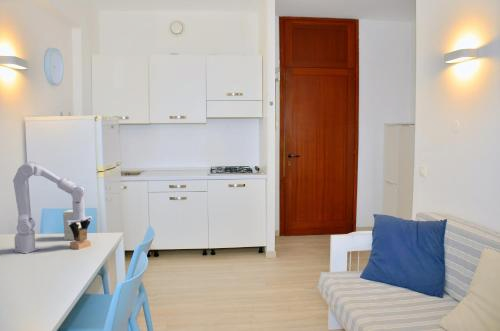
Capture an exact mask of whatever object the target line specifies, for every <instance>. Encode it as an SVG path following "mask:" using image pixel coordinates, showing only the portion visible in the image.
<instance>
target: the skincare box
mask: <svg viewBox="0 0 500 331" xmlns="http://www.w3.org/2000/svg"><path fill="white" fill-rule="evenodd" d="M62 217H63V234H64V239H63V240H64V241H75V240H74V235H73V232H72V230H71V228H70V227H69V225H66V221H68V220H71V219H73V209H68V210H67V209H66V210H65V211H63V212H62ZM76 224H78V225H79V228H81V224H80V222H78V223H76Z"/></svg>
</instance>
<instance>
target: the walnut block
mask: <svg viewBox="0 0 500 331" xmlns="http://www.w3.org/2000/svg"><path fill="white" fill-rule="evenodd" d="M83 240H88V228H87V229H84V228H78V237H77V238H76V237H74V240H73V241H83Z"/></svg>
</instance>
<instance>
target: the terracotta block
mask: <svg viewBox="0 0 500 331" xmlns="http://www.w3.org/2000/svg"><path fill="white" fill-rule="evenodd" d="M69 246H70V248H71V249H76V250H82V249H85V248H86V249H87V248H89V247H91V246H92V245H91V240H88V239H87V240H83V241H75V240H72V241H71V242H69Z"/></svg>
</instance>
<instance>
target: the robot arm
mask: <svg viewBox="0 0 500 331" xmlns="http://www.w3.org/2000/svg"><path fill="white" fill-rule="evenodd" d="M33 175H34V176H35V177H37V176H38V177H43V178H45V179H47V180H49V181H51V182H53V183H54V184H56V186H57V188H58V189H60V190H61V191H64V192H65V193H67V194H68V195H70V196H71V197H72V202H71V203H72V210H73V219H71V220H68V221H66V225H69V227H70V228H71V230H72V232H73V235H74V237H76V238H77V237H78V228H79V225H78V224H76V223H78V222H80V224H81V228H84V229H87V230H88V227H89V226H90V224H91V220H93V216H92V215H86V210H85V209H86V206H85V203H86V202H85V196H84V195H85V188H84V187H83V186H82V185H79V184H78V183H75V182H73V181H71V180H70V178H69V177H62V178H61V177H59V176H58V175H56V174H54V172H52V171H50V170H49V169H47V168H45V167H44V166H42V165H41V164H37V163H36V162H33V161H29V162H26V163H23V164H22V165H20V166H19V167H18V168H17V170H16V174H15V175H14V177H13V180H12V182H13V187H14V188H13V189H14V193H15V194H14V195H15V201H16V207H17V214H18V216H17V225H16V231H17V233H16V234H15V235H14V239H13V240H14V249H13V251H14V252H16V253H21V254H28V253H30V252H31V253H32V252H35V251H38V250H40V248H39V247H36V235H35V234H36V232H35V229H34V228H35V226H36V221H35V220H34V219H33V216H32V215H33V214H32V213H31V211H30V206H29V198H28V193H27V192H28V191H27V184H26V182H27V181H28V180H29V179H30V177H32V176H33Z"/></svg>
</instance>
